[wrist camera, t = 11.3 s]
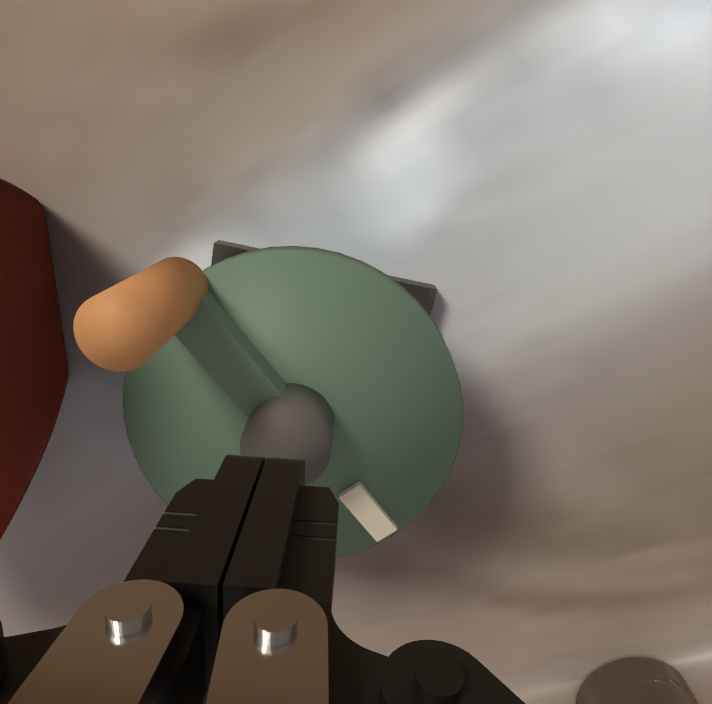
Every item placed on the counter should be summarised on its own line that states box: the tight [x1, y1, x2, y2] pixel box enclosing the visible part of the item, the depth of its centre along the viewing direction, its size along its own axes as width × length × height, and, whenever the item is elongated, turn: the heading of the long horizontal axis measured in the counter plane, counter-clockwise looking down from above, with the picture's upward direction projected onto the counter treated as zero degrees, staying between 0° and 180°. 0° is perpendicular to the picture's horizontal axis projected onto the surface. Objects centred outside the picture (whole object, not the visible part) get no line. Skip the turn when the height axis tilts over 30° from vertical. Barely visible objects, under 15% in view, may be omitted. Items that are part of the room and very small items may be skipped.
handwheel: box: [73, 246, 463, 557], centre depth 27 cm, size 20×18×9 cm
